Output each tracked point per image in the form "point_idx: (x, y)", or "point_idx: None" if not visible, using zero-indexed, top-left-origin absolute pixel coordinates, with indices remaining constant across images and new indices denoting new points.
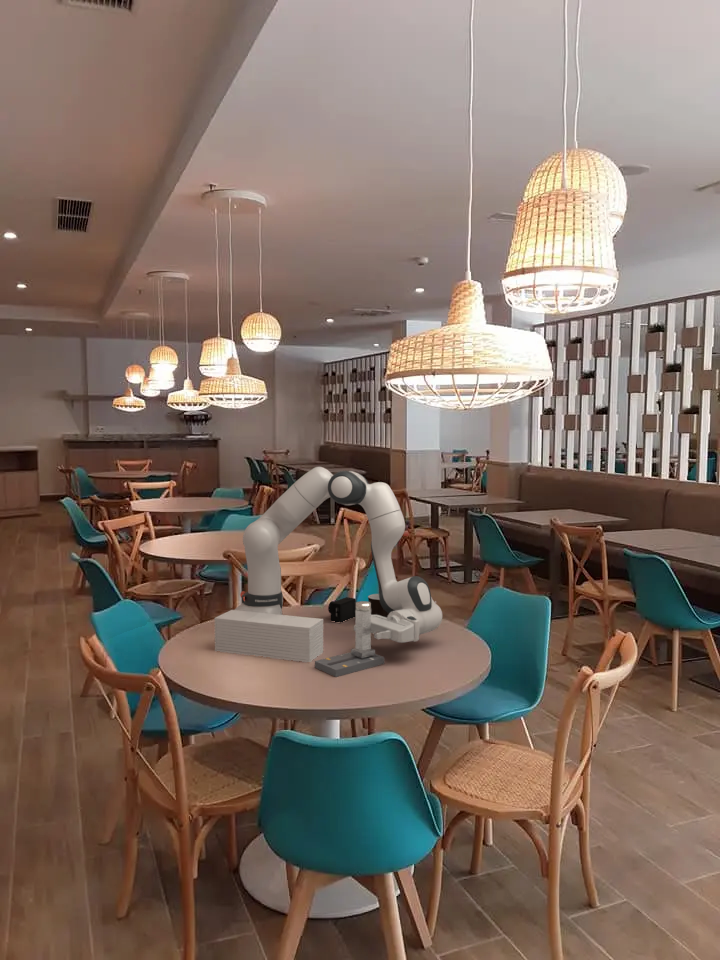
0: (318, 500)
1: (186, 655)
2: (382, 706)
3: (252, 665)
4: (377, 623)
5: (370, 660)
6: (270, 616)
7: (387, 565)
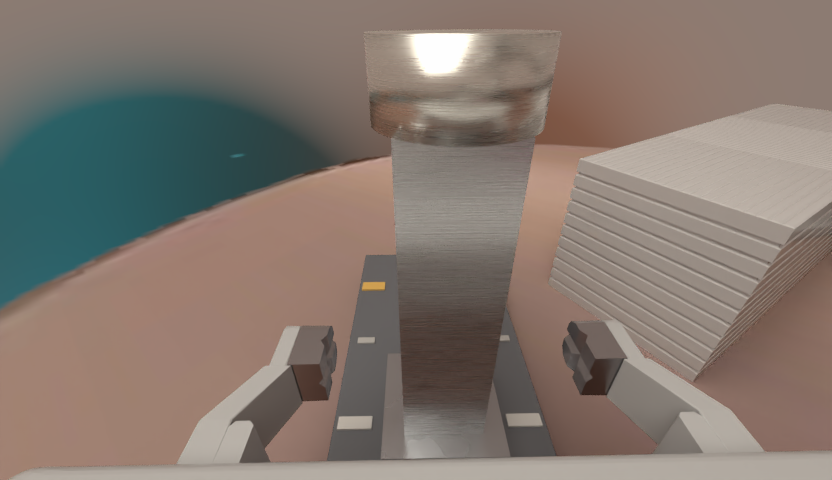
0: None
1: None
2: (112, 253)
3: None
4: (496, 470)
5: (344, 403)
6: (822, 145)
7: None
